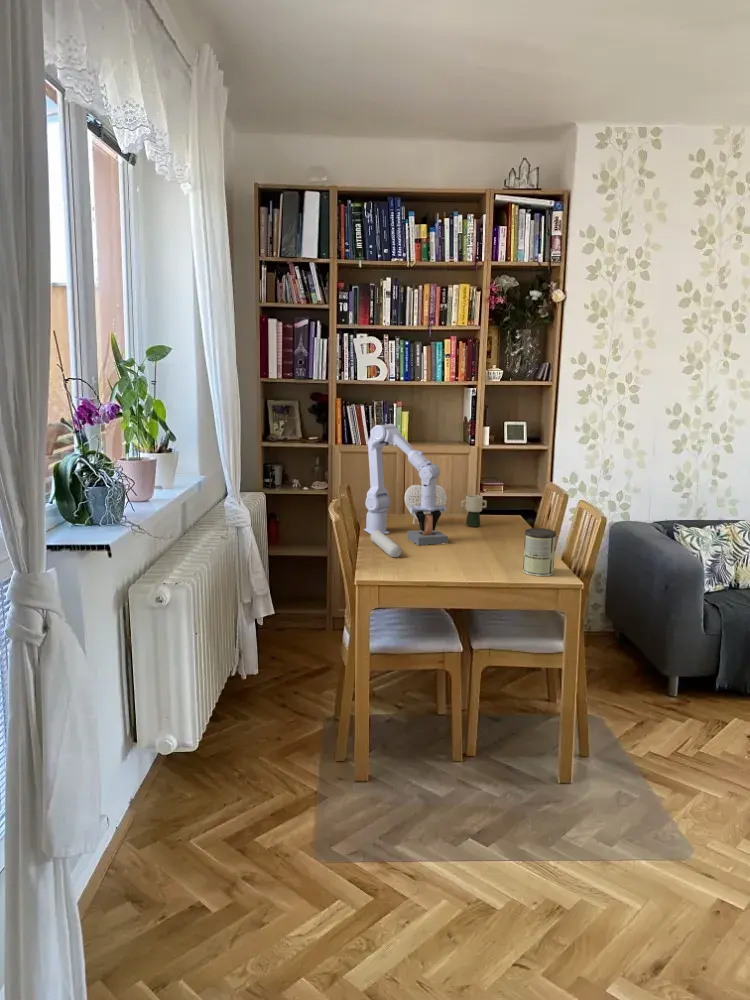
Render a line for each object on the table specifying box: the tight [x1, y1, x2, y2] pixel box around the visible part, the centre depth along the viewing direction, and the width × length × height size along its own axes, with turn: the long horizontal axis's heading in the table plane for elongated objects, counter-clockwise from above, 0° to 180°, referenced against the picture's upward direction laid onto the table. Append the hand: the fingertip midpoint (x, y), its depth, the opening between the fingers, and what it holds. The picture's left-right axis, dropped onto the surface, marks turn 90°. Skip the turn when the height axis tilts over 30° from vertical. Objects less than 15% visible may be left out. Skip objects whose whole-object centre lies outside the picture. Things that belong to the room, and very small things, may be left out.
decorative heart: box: [404, 484, 448, 525], centre depth 328 cm, size 18×11×17 cm, turn 95°
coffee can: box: [522, 527, 557, 577], centre depth 256 cm, size 10×10×14 cm
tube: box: [370, 530, 402, 559], centre depth 283 cm, size 5×5×25 cm
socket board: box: [406, 529, 449, 546], centre depth 299 cm, size 12×12×3 cm
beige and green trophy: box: [460, 494, 488, 527], centre depth 327 cm, size 11×7×13 cm, turn 96°
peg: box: [422, 513, 433, 536], centre depth 298 cm, size 4×4×9 cm
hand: (427, 530), depth 298 cm, fingers closed on peg, 4 cm apart
